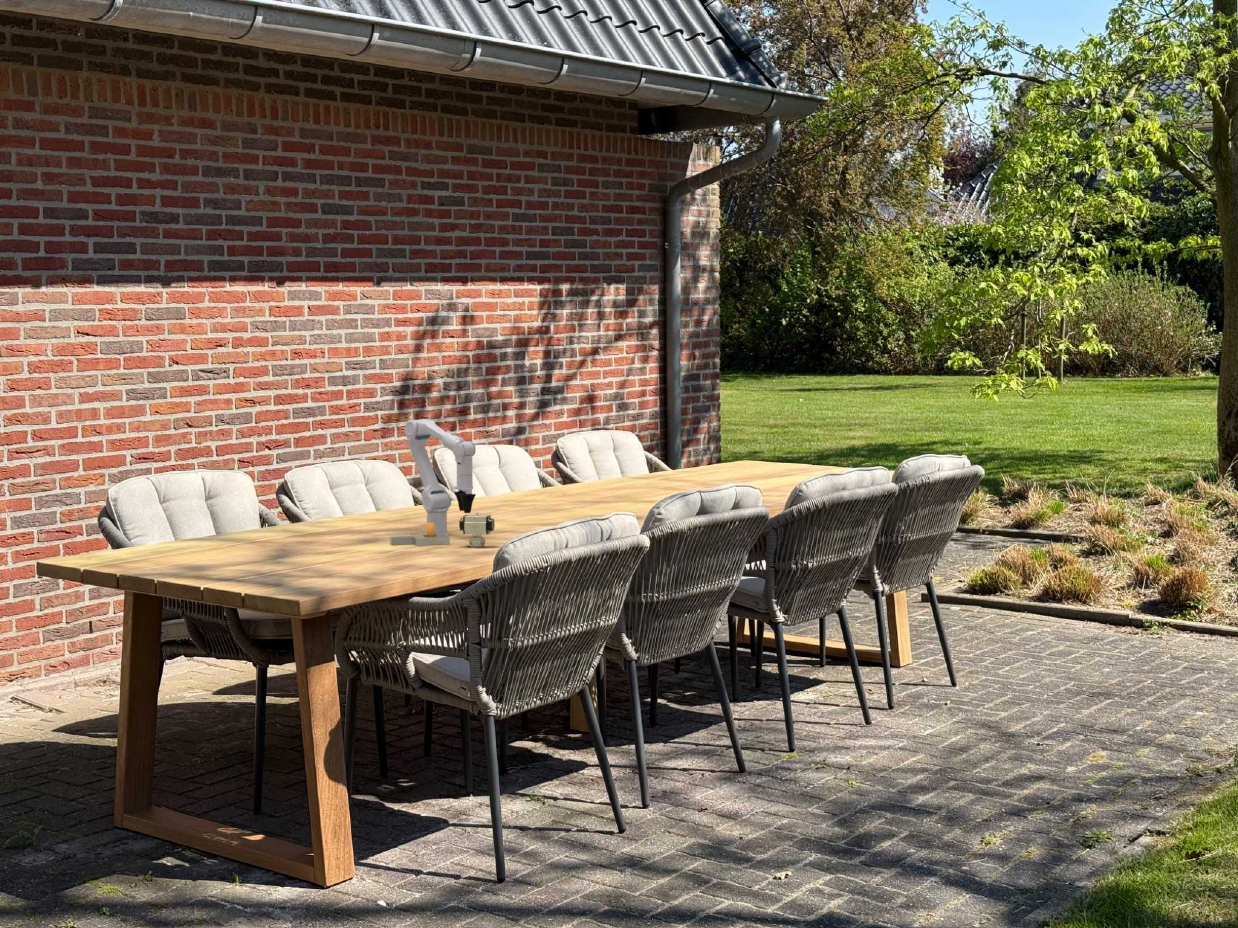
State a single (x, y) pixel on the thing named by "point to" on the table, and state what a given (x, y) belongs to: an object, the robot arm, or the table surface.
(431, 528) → the orange cylinder
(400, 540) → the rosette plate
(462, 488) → the robot arm
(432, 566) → the table surface
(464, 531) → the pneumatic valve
